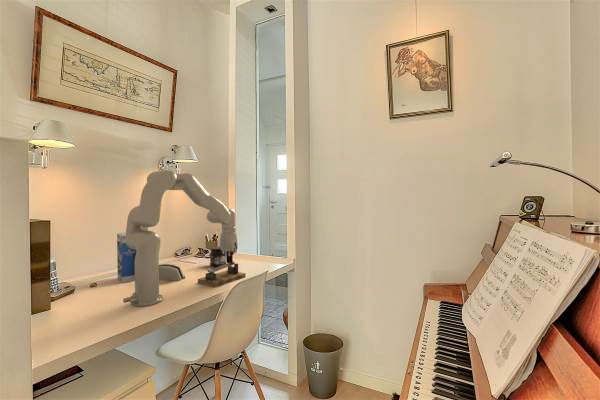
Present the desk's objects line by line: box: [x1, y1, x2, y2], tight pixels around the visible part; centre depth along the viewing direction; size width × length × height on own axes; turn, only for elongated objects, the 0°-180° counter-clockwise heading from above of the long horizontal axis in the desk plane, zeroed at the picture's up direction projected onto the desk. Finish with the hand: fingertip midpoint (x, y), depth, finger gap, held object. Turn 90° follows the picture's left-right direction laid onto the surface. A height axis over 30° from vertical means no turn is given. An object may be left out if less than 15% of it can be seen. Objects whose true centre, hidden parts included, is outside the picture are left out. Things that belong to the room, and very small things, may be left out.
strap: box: [206, 261, 236, 273], centre depth 163 cm, size 17×4×2 cm, turn 147°
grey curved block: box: [159, 263, 186, 281], centre depth 165 cm, size 17×5×10 cm, turn 78°
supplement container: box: [209, 246, 227, 268], centre depth 196 cm, size 10×10×12 cm
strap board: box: [197, 262, 246, 288], centre depth 163 cm, size 22×14×8 cm, turn 147°
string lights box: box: [116, 232, 137, 284], centre depth 165 cm, size 13×8×26 cm, turn 42°
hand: (229, 262), depth 168 cm, fingers closed
